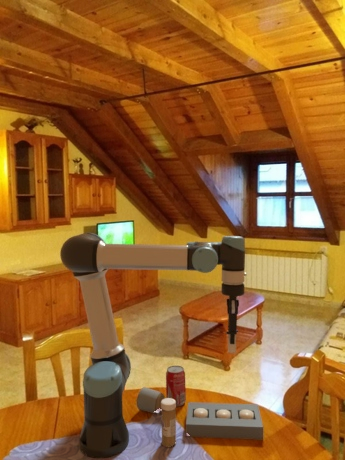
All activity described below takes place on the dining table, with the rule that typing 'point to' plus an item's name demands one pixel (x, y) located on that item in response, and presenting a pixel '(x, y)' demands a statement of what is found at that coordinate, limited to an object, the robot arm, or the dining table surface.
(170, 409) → the sprinkles bottle
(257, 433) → the button board
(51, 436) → the dining table surface
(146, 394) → the ceramic mug
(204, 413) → the left button
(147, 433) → the dining table surface
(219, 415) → the middle button
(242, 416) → the right button
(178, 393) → the soda can
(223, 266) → the robot arm
